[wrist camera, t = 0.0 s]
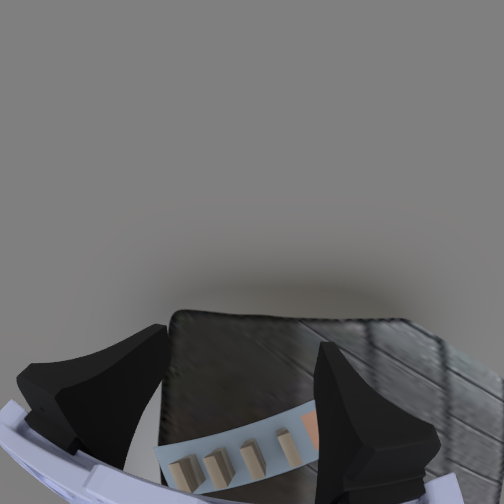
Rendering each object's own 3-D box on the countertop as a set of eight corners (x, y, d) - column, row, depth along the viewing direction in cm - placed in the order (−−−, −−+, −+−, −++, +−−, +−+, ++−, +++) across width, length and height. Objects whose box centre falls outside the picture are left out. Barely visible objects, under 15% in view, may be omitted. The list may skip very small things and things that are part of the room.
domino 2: (226, 475, 31) (216, 489, 24) (215, 449, 33) (202, 458, 26) (235, 472, 31) (227, 487, 24) (224, 446, 34) (214, 455, 26)
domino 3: (256, 467, 31) (253, 480, 24) (245, 441, 34) (239, 449, 27) (266, 464, 32) (265, 477, 24) (255, 438, 34) (251, 445, 27)
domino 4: (287, 456, 32) (291, 468, 25) (275, 430, 35) (277, 436, 28) (296, 453, 32) (303, 463, 25) (285, 427, 35) (289, 432, 28)
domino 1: (197, 481, 30) (181, 495, 23) (186, 455, 33) (167, 464, 25) (206, 479, 30) (191, 493, 23) (195, 453, 33) (178, 463, 26)
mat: (174, 496, 28) (173, 497, 28) (154, 447, 34) (153, 447, 33) (360, 437, 33) (361, 438, 32) (338, 388, 38) (338, 387, 38)
